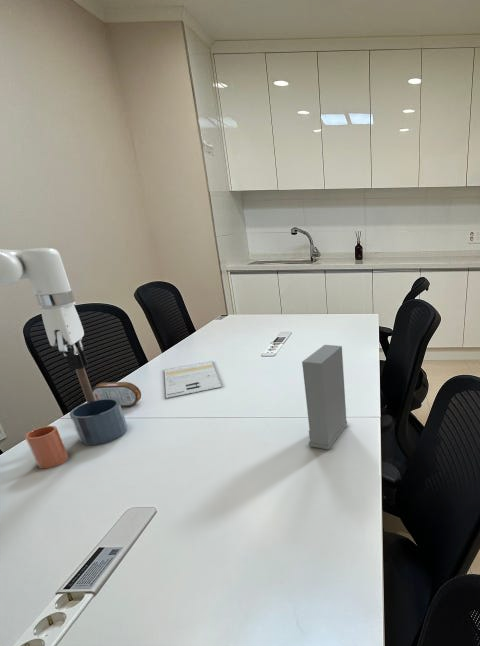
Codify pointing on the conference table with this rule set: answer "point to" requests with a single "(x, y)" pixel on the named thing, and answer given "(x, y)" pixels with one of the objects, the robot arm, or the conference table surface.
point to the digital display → (190, 379)
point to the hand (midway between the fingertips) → (79, 366)
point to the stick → (85, 384)
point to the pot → (99, 421)
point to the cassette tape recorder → (325, 395)
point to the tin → (118, 392)
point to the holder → (47, 446)
